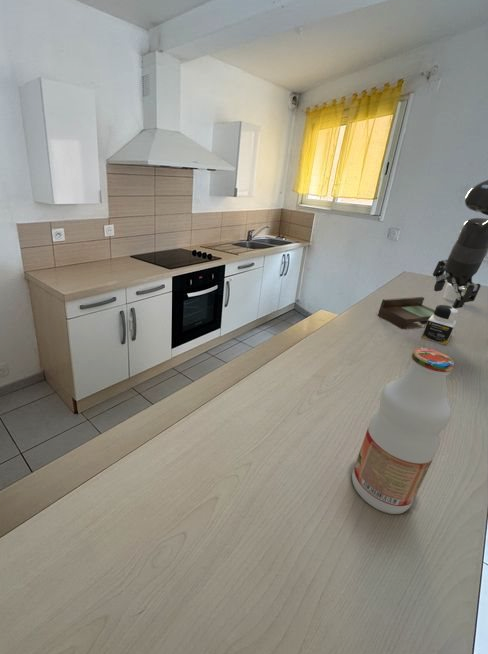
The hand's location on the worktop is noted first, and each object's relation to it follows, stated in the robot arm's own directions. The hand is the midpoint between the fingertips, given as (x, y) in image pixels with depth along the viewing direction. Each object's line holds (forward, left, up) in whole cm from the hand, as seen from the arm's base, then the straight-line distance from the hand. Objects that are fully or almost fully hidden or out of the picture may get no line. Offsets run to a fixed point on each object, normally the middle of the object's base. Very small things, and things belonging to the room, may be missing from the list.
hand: (446, 298), depth 101 cm
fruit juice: (+59, +40, -17) cm, 73 cm away
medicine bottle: (-8, -4, -17) cm, 20 cm away
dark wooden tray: (-12, -18, -17) cm, 28 cm away
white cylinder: (-54, -34, -17) cm, 66 cm away
